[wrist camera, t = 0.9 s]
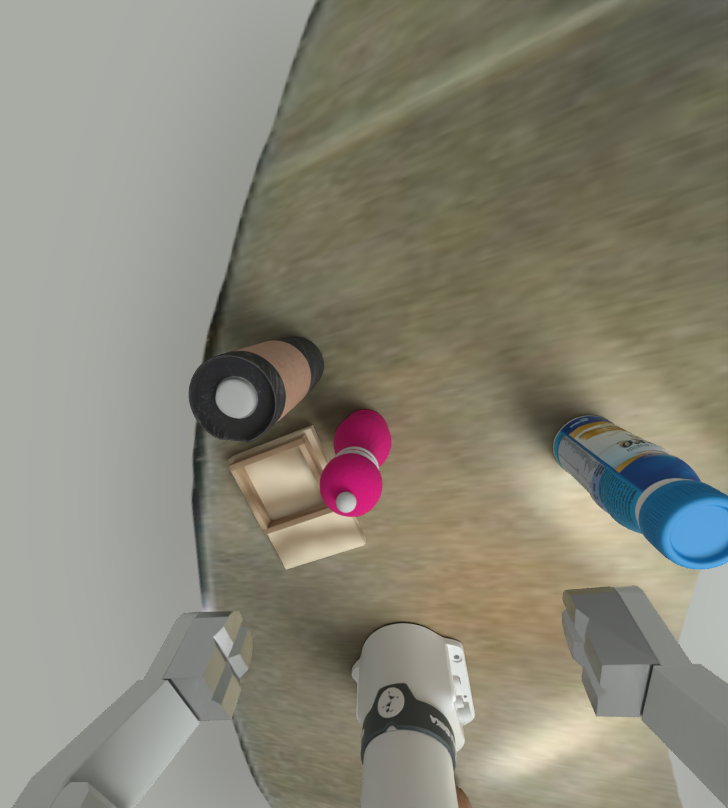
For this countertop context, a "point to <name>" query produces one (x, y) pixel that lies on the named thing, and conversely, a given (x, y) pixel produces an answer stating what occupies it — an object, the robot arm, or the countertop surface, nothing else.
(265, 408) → the travel mug
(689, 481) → the beverage bottle
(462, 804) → the onion
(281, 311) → the countertop surface
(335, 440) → the pepper mill
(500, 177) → the countertop surface
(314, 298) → the countertop surface
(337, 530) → the mill holder
